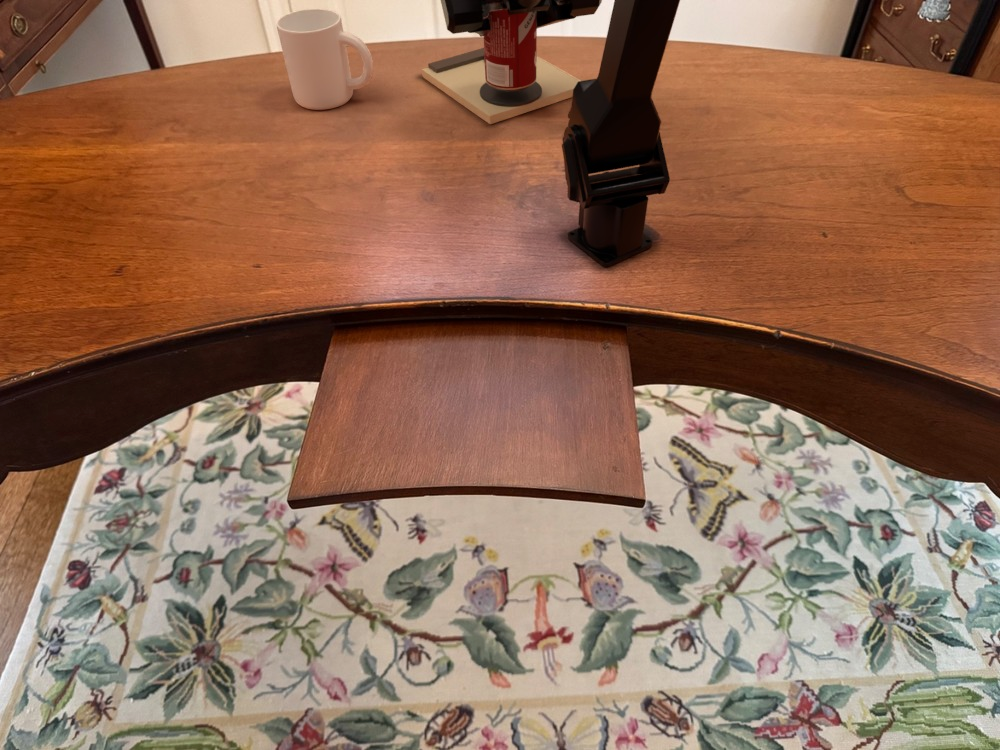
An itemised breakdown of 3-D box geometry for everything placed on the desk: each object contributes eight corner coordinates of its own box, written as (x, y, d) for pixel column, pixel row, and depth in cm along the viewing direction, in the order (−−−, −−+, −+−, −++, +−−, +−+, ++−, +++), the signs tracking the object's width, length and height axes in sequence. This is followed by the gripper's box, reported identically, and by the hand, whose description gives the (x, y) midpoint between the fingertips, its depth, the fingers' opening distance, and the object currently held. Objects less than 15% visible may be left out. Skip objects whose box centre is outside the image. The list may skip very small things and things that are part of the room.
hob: (587, 92, 98) (588, 79, 97) (490, 125, 92) (490, 112, 91) (513, 50, 109) (513, 38, 108) (422, 77, 103) (421, 64, 102)
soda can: (508, 99, 92) (506, -1, 83) (475, 84, 96) (470, -14, 87) (546, 84, 95) (548, -14, 86) (513, 69, 99) (512, -27, 90)
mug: (387, 88, 101) (377, 11, 93) (368, 115, 95) (354, 35, 88) (308, 83, 103) (291, 6, 95) (284, 109, 97) (265, 30, 90)
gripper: (600, -127, 78) (561, -42, 93) (433, -110, 74) (421, -25, 90) (622, -26, 78) (580, 42, 93) (457, -5, 74) (441, 63, 90)
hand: (507, 29), depth 91 cm, fingers closed on soda can, 7 cm apart
